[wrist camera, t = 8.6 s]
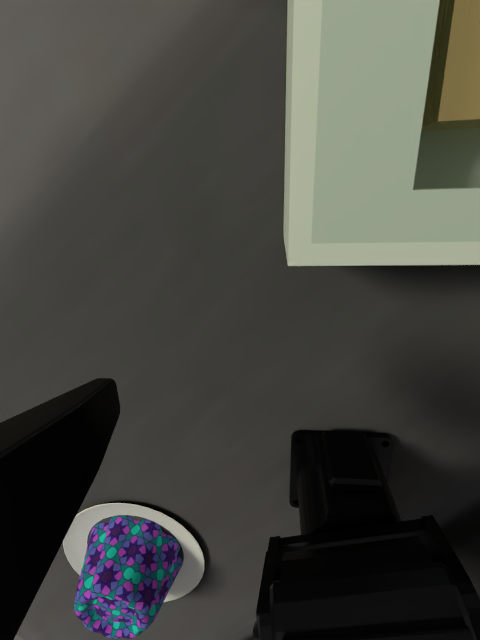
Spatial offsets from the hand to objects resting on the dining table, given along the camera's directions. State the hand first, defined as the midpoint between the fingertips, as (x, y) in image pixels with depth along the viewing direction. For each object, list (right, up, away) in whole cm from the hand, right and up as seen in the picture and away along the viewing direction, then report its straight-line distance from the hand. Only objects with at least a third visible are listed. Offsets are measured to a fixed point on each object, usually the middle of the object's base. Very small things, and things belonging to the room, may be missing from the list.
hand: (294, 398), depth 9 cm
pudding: (-10, -17, +22) cm, 30 cm away
